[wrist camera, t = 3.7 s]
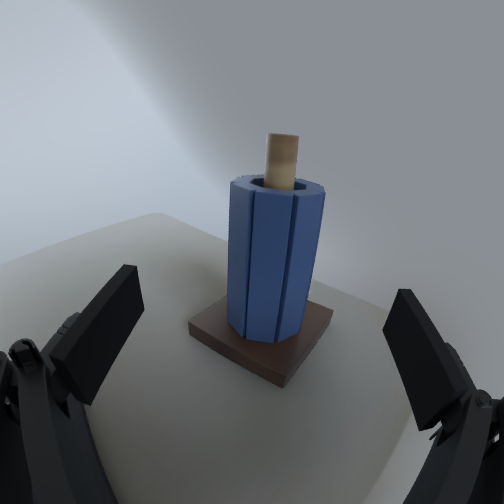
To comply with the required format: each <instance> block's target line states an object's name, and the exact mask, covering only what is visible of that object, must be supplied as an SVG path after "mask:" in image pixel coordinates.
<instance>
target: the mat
mask: <svg viewBox="0 0 504 504" xmlns="http://www.w3.org/2000/svg"><path fill="white" fill-rule="evenodd" d="M68 399H69V401H70V404H71V409H72V413H73V417H74V421H75V424H76V428H77V431H78V435H79V438H80V441H81V445H82V448H83V451H84V454H85V457H86V459H87V462H88V465H89V468H90V470H91V473H92V475H93V478H94V480H95V483H96V485H97V487H98V490H99V492H100V494H101V496H102V498H103V500H104V503H105V504H118V502H117V500H116V498H115V496H114V494H113V491H112V489H111V487H110V485H109V482H108V480H107V477H106V475H105V472H104V470H103V467H102V465H101V462H100V459H99V456H98V453H97V451H96V448H95V445H94V441H93V438H92V435H91V432H90V428H89V425H88V421H87V417H86V413H85V409H84V405H83V403H82V402H80V401H78V400H76V399H75V398H74V396H73V395H72V393H71V392H70V394H69V395H68ZM7 402H8V398H7V397H6V399H5V403H6V404H7ZM31 483H32V480H31ZM32 495H33V504H39V503H38V500H37V497H36V494H35V491H34V487H33V484H32Z"/></svg>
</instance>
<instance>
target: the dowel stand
mask: <svg viewBox="0 0 504 504" xmlns="http://www.w3.org/2000/svg"><path fill="white" fill-rule="evenodd" d="M298 140H299V136H295V135H286V134H275V133H268V134H267V143H266V158H265V171H264V184H263V188H270V189H279V190H287V191H292V190H294V182H295V172H296V162H297V151H298ZM332 314H333V310H331V309H329V308H326V307H324V306H321V305H319V304H316V303H314V302H311V301H308V300H307V303H306V307H305V312H304V317H303V321H302V326H301V330H299V332H298V333H297V334H295V335H293V336H291V337H289V338H287V339H285V340H283V341H281V342H279V343H278V342H277V341H276V340H274V343H267V342H260V341H254V340H248V339H246V335H245V336H243V337H241V336H240V335H239V333H238V332H237V331H236V330H235V329H234V328H233V327H232V326H231V325H230V324H229V322H228V318H227V295H226V296H224V297H223V298H222V299H220V300H219V301H217V302H216V303H214V304H213V305H211V306H210V307H209V308H207V309H206V310H204V311H203V312H201V313H200V314H198V315H197V316H195V317H194V318H193V319H191V320H190V321H188V325H189V334H190V335H191V336H193V337H194V338H196V339H197V340H199V341H200V342H202V343H204V344H205V345H207V346H208V347H210V348H212V349H213V350H215V351H217V352H218V353H220V354H222V355H223V356H225V357H227V358H228V359H230V360H232V361H234V362H235V363H237V364H239V365H240V366H242V367H244V368H246V369H248V370H249V371H251V372H253V373H255V374H257V375H259V376H260V377H262V378H264V379H266V380H268V381H270V382H272V383H274V384H276V385H278V386H280V387H282V388H283V387H284V386H285V385H286V383H287V382H288V381H289V380H290V378H291V377H292V376H293V374H294V373H295V372H296V370H297V369H298V368H299V366H300V365H301V364H302V362H303V361H304V359H305V358H306V357H307V355H308V354H309V353H310V351H311V350H312V348H313V347H314V345H315V344H316V343H317V341H318V340H319V338H320V337H321V335H322V334H323V332H324V331H325V329H326V328H327V326H328V325H329V323H330V321H331V318H332Z"/></svg>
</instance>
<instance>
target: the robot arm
mask: <svg viewBox="0 0 504 504" xmlns="http://www.w3.org/2000/svg"><path fill="white" fill-rule="evenodd" d="M144 310H145V309H144V304H143V299H142V294H141V288H140V283H139V277H138V271H137V266H133V265H125V264H124V265H123V266H122V267H121V268H120V269H119V270H118V271H117V272H116V273H115V275H114V276H113V277H112V278H111V279H110V280H109V281H108V282H107V283H106V285H105V286H104V287H103V288H102V289H101V290H100V291H99V293H98V294H97V295H96V296H95V297H94V298H93V299H92V301H91V302H90V303H89V304H88V305H87V307H86V308H85V309H84V310H83V311H82V313H78V312H76V313H75V314H73V315H72V316H70V317H68V318H67V319H66V321H65V322H64V323H63V324H62V327H60V328H59V329H58V330H57V333H55V334H54V335H53V337H52V338H51V339H50V340H49V342H48V343H47V344H46V346H45V347H44V348H43V349H42V351H41V352H40V353H39V351H38V349H37V347H36V345H35V343H34V342H33V341H32V340H30V339H21V340H18V341H16V342H15V343H14V344H13V345H12V346H11V348H10V349H9V353H8V354H9V356H10V358H11V359H12V361H10V360H9V359H8V357H7V355H6V354H5V353H4V352H2V351H0V504H33V495H32V484H33V487H34V491H35V494H36V497H37V500H38V503H39V504H105V503H104V500H103V498H102V496H101V494H100V492H99V490H98V487H97V485H96V483H95V480H94V478H93V475H92V473H91V470H90V468H89V465H88V462H87V459H86V457H85V454H84V451H83V448H82V445H81V441H80V438H79V435H78V431H77V428H76V424H75V421H74V417H73V413H72V409H71V404H70V401H69V399H68V395H69V394H70V392H71V393H72V395H73V396H74V398H75V399H76V400H78V401H80V402H82V403H85V404H87V405H90V406H91V404H92V402H93V400H94V398H95V396H96V394H97V392H98V390H99V388H100V386H101V385H102V383H103V381H104V379H105V377H106V375H107V373H108V372H109V370H110V368H111V366H112V364H113V363H114V361H115V359H116V357H117V356H118V354H119V352H120V350H121V349H122V347H123V345H124V343H125V342H126V340H127V338H128V337H129V335H130V333H131V331H132V330H133V328H134V326H135V325H136V323H137V321H138V320H139V318H140V316H141V315H142V313H143V312H144ZM382 331H383V333H384V335H385V338H386V340H387V343H388V345H389V348H390V350H391V353H392V355H393V358H394V360H395V363H396V365H397V368H398V371H399V373H400V376H401V379H402V381H403V384H404V387H405V390H406V393H407V396H408V398H409V401H410V404H411V407H412V410H413V414H414V417H415V420H416V423H417V426H418V430H419V431H423V430H427V429H431V428H433V427H434V426H435V425H436V424H437V423H438V422H439V421H440V420H441V423H442V426H441V427H440V428H439V429H438V430H437V431H436V432H435V433H434V434H433V435H432V436H431V437H430V439H429V440H432V439H433V438H434V437H435V436H436V438H435V440H434V443H433V445H432V447H431V450H430V452H429V454H428V456H427V459H426V461H425V463H424V465H423V467H422V469H421V471H420V473H419V475H418V477H417V479H416V481H415V483H414V485H413V487H412V488H411V490H410V492H409V494H408V495H407V497H406V499H405V500H404V502H403V504H504V397H503V398H502V399H501V400H498V399H492V398H491V396H490V395H489V394H488V393H487V392H486V391H484V390H477V389H476V387H475V385H474V384H473V381H472V379H471V378H470V375H469V374H468V372H467V370H466V368H465V366H463V363H462V361H461V360H460V357H459V355H458V354H457V352H456V350H455V349H454V348H453V347H452V346H451V345H450V344H449V343H444V341H443V339H442V337H441V336H440V334H439V332H438V331H437V329H436V327H435V326H434V324H433V323H432V321H431V319H430V318H429V316H428V315H427V313H426V312H425V310H424V308H423V307H422V305H421V304H420V303H419V301H418V299H417V298H416V296H415V295H414V293H413V292H412V290H411V289H398V292H397V295H396V298H395V300H394V303H393V305H392V308H391V310H390V313H389V315H388V318H387V320H386V322H385V325H384V327H383V329H382ZM6 397H7V398H8V402H7V404H6V403H5V399H6ZM498 434H499V440H498V441H496V442H495V440H494V437H495V436H496V435H498ZM31 480H32V483H31Z"/></svg>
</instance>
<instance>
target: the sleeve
mask: <svg viewBox="0 0 504 504" xmlns="http://www.w3.org/2000/svg"><path fill="white" fill-rule="evenodd" d="M263 184H264V175H247V176H241V177H237V178H236V179H234V180H233V181H232V182H231V183H230V207H229V239H228V287H227V318H228V322H229V324H230V325H231V326H232V327H233V328H234V329H235V330H236V331H237V332H238V333H239V335H240V336H241V337H243V336H245V335H246V339H248V340H254V341H260V342H267V343H274V340H276V341H277V342H278V343H279V342H281V341H283V340H285V339H287V338H289V337H291V336H293V335H295V334H297V333H298V332H299V330H301V326H302V321H303V317H304V312H305V307H306V303H307V298H308V293H309V288H310V283H311V278H312V273H313V267H314V262H315V256H316V251H317V244H318V239H319V233H320V227H321V220H322V214H323V207H324V201H325V190H324V187H323V186H320V185H319V184H316V183H313V182H310V181H306V180H303V179H296V178H295V182H294V190H292V191H287V190H279V189H270V188H263Z"/></svg>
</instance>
